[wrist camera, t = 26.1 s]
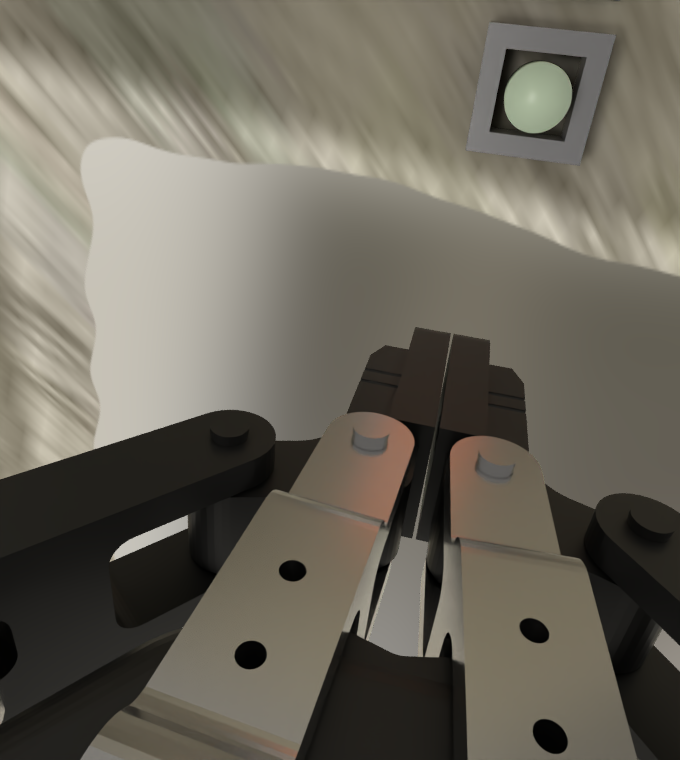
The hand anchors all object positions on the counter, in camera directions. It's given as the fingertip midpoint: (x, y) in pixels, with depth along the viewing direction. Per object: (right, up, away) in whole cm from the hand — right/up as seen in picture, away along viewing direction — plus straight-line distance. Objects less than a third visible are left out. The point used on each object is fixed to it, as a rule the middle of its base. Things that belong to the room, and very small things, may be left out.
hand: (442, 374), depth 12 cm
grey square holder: (+12, +21, +31) cm, 39 cm away
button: (+12, +20, +30) cm, 38 cm away
